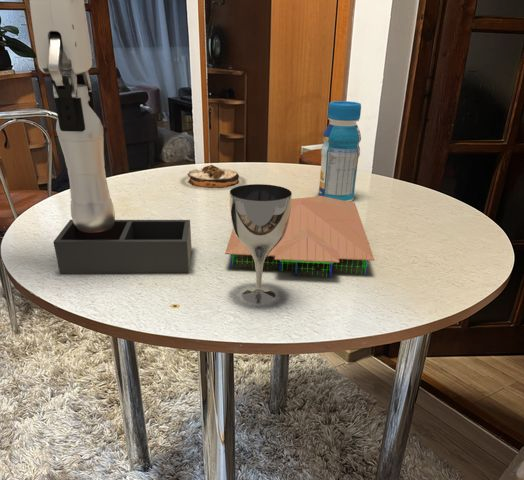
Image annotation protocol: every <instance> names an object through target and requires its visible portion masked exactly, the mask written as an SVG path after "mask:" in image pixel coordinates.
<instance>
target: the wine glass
mask: <svg viewBox="0 0 524 480" xmlns="http://www.w3.org/2000/svg"><path fill="white" fill-rule="evenodd" d="M292 196H293V193H292V191H291V189H288V188H286V187H283V186H280V185H274V184H261V183H253V184H252V183H251V184H244V185H240V186H235V187H233V188H231V189H230V190H229V213H230V219H231V225H232V230H233V229H234V232H235V235H236V236H237V238H238V239H239V241H240V242H241V243H242V244H243V245H244V246H245V248H246V249H247V250H248V251H249V252H250V254H251V255H250V256H251V258H252V257H253V261H254V262H253V263H254V269H255V280H256V281H255V288H250V289H246V290H244V291H243V292H242V294H241V298H242V299H243V301H245V302H247V303H251V304H261V305H262V304H267V303H270V302H273V301H274V300H275V299H277V295H276V293H275V292H273V291H272V290H270V289H266V288H263V286H262V284H263V283H262V282H263V271H264V265H265V262H266V259H267V258H268V256H267V255H268V254H269V253H270V252H271V251H272V249H273V248H274V247H275V246H276V245H277V244H278V243H279V242H280V241H281V240H282V238H283V237H284V235H285V233H286V230H287V227H288V223H289V218H290V212H291V200H292V199H293V197H292Z"/></svg>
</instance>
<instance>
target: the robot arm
mask: <svg viewBox="0 0 524 480" xmlns="http://www.w3.org/2000/svg"><path fill="white" fill-rule="evenodd" d="M28 2H29V11H30V17H31V18H30V19H31V24H32V25H31V27H32V32H33V39H34V45H35V47H34V48H35V53H36V58H37V59H36V60H37V66H38V69H39V70H40V71H41V72H42V73H43V74H50V76H51V78H50V81H51V84H52V93H53V97H54V103H55V109H56V115H57V119H58V121H59V126H60V130H61V131H81V132H82V131H84V130H85V122H84V116H83V109H82V103H81V98H78V91H77V84H79V85H87V88H88V95H89V97H90V101H88V104H89V106H90V107H91V109H92V110H93V111H94V112H95V113H96V107H95V100H94V93H93V91H92V90H93V87H92V82H91V78H90V72H89V70H90V69H91V68H92V67H93V55H92V54H93V53H92V47H91V39H90V32H89V31H90V30H89V26H88V19H87V11H86V6H85V0H29V1H28ZM70 84H71V85H70Z"/></svg>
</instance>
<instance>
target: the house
mask: <svg viewBox="0 0 524 480" xmlns="http://www.w3.org/2000/svg"><path fill="white" fill-rule="evenodd" d="M224 255H230V269H233V266H234V265H233V264H234V262H235V258H236V256H246V258H247V259H246V260H236V263H238V262H239V263H243V262H245V263H249V261H248V257H249V256H251V258H252V260H251V266H252V267H251V270H253V263H255V262H254V259H253V257H252V255H251V254H250V252H249V251H248V250H247V249H246V248H245V246H244V245H243V244H242V243H241V242H240V241H239V239H238V238H237V236H236V235H235V232H234V229H233V228H232V231H231V233H230V236H229V240H228V243H227V246H226V249H225V252H224ZM267 257H274V258H273V261H272V264H275V265H277V264H278V262H277V261H279V269H278V271H279V272H281V271H282V272H283V271H284V263H286V267H287V268H286V269H288V267H289V265H292V268H291V271H293V266H294V265H295V269H294V272H295V277H297V276H298V263H300V264H301V263H302V264H301V270H307V271H309V270H312V271H311V275H314V274H313V272H314V271H313V270H314V267H309V265H307V266H306V268H305V267H303V264H317V266H319V264H322V265H323V266H322V271H329V278H332V272H333V266H335V268H337V267H340V270H342V269H343V267H345V269H346V271H345V272H347V270H348V266H347V264H346V265H343V264H341V265H340V260H341V261H344V260H347V261H346V263H349V262H348V261H350V260H351V265H349V267H351V268H350V269H351V270H350V273H352V269H353V264H354V263H353V262H354V261H361V264H362V265H360V266H359V262H356V263H357V265H356V268H361V269H363V271H364V275H365V276H366V275H367V271H368V265H369V261H371V262H373V261H375V256H374V254H373V251H372V248H371V245H370V243H369V240H368V237H367V234H366V231H365V228H364V225H363V222H362V219H361V216H360V213H359V211H358V208H357V205H356V202H353V201H350V202H348V201H343V200H338V199H334V198H329V197H324V196H318V195H317V196H310V197H308V196H307V197H299V198H292V200H291V212H290V218H289V223H288V227H287V230H286V233H285V235H284V237H283V238H282V240H281V241H280V242H279V243H278V244H277V245H276V246H275V247H274V248H273V249H272V251H271V252H270V253H269V254H268V255H267ZM265 263H266V264H271V262H269V261H264V264H265ZM334 263H336V264H334ZM338 263H339V265H338ZM325 265H326V268H324V267H325ZM266 270H267V271H269V268H267V269H266ZM363 271H361V273H360V275H362V274H363ZM357 273H358V270H356V272H355V274H356V275H357ZM316 274H317V275H316V278H318V275H319V272H317V273H316ZM325 274H326V276H325V278H327V276H328V272H326V273H325ZM323 277H324V275H322V278H323Z"/></svg>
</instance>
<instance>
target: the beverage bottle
mask: <svg viewBox="0 0 524 480" xmlns="http://www.w3.org/2000/svg"><path fill="white" fill-rule="evenodd" d="M361 112H362V104H361V103H360V102H358V101H348V100H335V101H330V102H329V103H328V110H327V119H328V120H329V123H328V125H327V126H326V127H325V130H324V131H323V134H322V140H323V144H322V145H321V148H320V155H321V159H320V160H321V161H320V172H319V173H320V176H319V187H318V193H317V196H324V197H329V198H334V199H338V200H343V201H348V202H353V200H354V199H355V189H356V181H357V172H358V163H359V157H360V155H361V148H360V142H361V141H362V134H361V130H360V128H359V126H358V124H357V122H359V121H360V119H361Z"/></svg>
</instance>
